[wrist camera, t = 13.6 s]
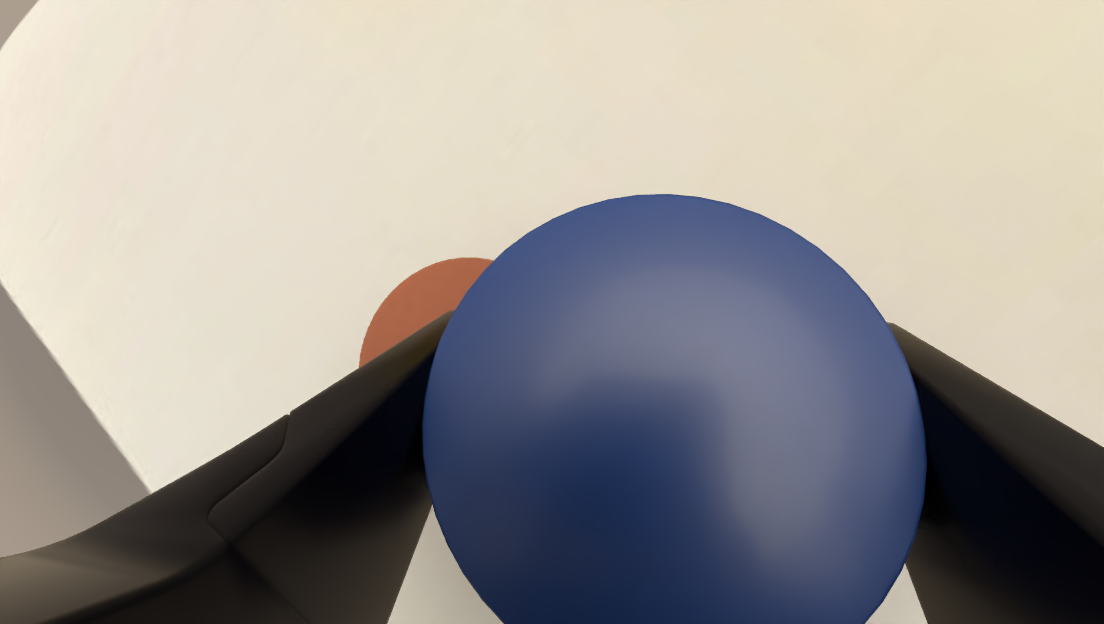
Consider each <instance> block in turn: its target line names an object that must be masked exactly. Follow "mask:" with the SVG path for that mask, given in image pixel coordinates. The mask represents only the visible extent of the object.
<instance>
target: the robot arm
mask: <svg viewBox="0 0 1104 624" xmlns="http://www.w3.org/2000/svg"><path fill="white" fill-rule="evenodd" d="M454 311H455V310H450V311H448V312H446V313H444V314H443V315H441V316H440V317H438V318H437V319H435V320H433V321H432V322H430V323H429V324H427V325H426V326H424V327H423V328H421V329H419V330H418V331H416V332H415V333H413V334H412V335H410V336H408V337H407V338H405V339H404V340H402V341H401V342H399V343H397V344H396V345H394V346H393V347H391V348H390V349H388V350H386V351H385V352H383V353H382V354H380V355H379V356H377V357H376V358H374V359H372V360H371V361H369V362H368V363H366V364H365V365H363V366H361V367H360V368H358V369H357V370H355V371H354V372H352V373H350V374H349V375H347V376H346V377H344V378H343V379H341V380H339V381H338V382H336V383H335V384H333V385H332V386H330V387H328V388H327V389H325V390H324V391H322V392H321V393H319V394H317V395H316V396H314V397H313V398H311V399H310V400H308V401H306V402H305V403H303V404H302V405H300V406H299V407H297V408H296V409H294V410H292V411H291V412H290V415H284V416H283V417H281V418H280V419H278V420H277V421H275V422H274V423H272V424H270V425H269V426H267V427H266V428H264V429H262V430H261V431H259V432H258V433H256V434H254V435H253V436H251V437H249V438H248V439H246V440H245V441H243V442H241V443H240V444H238V445H236V446H235V447H233V448H232V449H230V450H228V451H226V452H225V453H223V454H221V455H219V456H218V457H216V458H214V459H212V460H211V461H209V462H207V463H205V464H204V465H202V466H200V467H199V468H197V469H195V470H193V471H191V472H190V473H188V474H186V475H184V476H183V477H181V478H179V479H177V480H175V481H174V482H172V483H170V484H168V485H166V486H165V487H163V488H161V489H159V490H158V491H156V492H154V493H152V494H150V495H149V496H147V497H145V498H143V499H142V500H140V501H138V502H136V503H135V504H133V505H131V506H129V507H127V508H125V509H124V510H122V511H120V512H118V513H117V514H115V515H113V516H111V517H109V518H108V519H106V520H104V521H102V522H100V523H98V524H97V525H95V526H93V527H91V528H89V529H87V530H85V531H83V532H81V533H78V534H76V535H74V536H72V537H69V538H67V539H65V540H62V541H59V542H56V543H54V544H51V545H48V546H45V547H42V548H38V549H35V550H31V551H28V552H24V553H20V554H16V555H11V556H7V557H1V558H0V624H387V623H388V620H389V617H390V615H391V612H392V609H393V607H394V604H395V602H396V599H397V596H398V594H399V591H400V588H401V586H402V583H403V580H404V578H405V575H406V573H407V570H408V567H409V565H410V562H411V559H412V557H413V554H414V551H415V549H416V546H417V544H418V541H419V538H420V536H421V533H422V530H423V528H424V525H425V522H426V520H427V517H428V515H429V512H430V509H431V507H432V500H431V496H430V493H429V489H428V485H427V479H426V472H425V465H424V458H423V437H422V421H423V410H424V400H425V394H426V389H427V384H428V378H429V373H430V369H431V365H432V362H433V359H434V356H435V353H436V350H437V348H438V345H439V342H440V339H441V337H442V335H443V333H444V331H445V329H446V327H447V324H448V322H449V320H450V318H451V316H452V314H453V313H454ZM887 324H888V325H889V327H890V329H891V331H892V333H893V335H894V337H895V339H896V341H897V343H898V345H899V347H900V349H901V350H902V352H903V354H904V356H905V359H906V362H907V364H908V367H909V370H910V373H911V375H912V378H913V381H914V384H915V387H916V389H917V393H918V398H919V403H920V407H921V412H922V418H923V424H924V430H925V441H926V457H927V469H926V481H925V494H924V502H923V507H922V511H921V515H920V519H919V524H918V528H917V532H916V536H915V539H914V541H913V544H912V546H911V549H910V551H909V554H908V556H907V559H906V561H905V564H906V567H907V569H908V572H909V575H910V577H911V580H912V583H913V585H914V588H915V591H916V594H917V596H918V599H919V602H920V604H921V607H922V610H923V612H924V615H925V618H926V620H927V623H928V624H1104V447H1102V446H1100V445H1099V444H1097V443H1095V442H1094V441H1092V440H1090V439H1089V438H1087V437H1085V436H1083V435H1082V434H1080V433H1078V432H1077V431H1075V430H1073V429H1072V428H1070V427H1068V426H1067V425H1065V424H1063V423H1061V422H1060V421H1058V420H1056V419H1055V418H1053V417H1051V416H1050V415H1048V414H1046V413H1045V412H1043V411H1041V410H1039V409H1038V408H1036V407H1034V406H1033V405H1031V404H1029V403H1028V402H1026V401H1024V400H1023V399H1021V398H1019V397H1017V396H1016V395H1014V394H1012V393H1011V392H1009V391H1007V390H1006V389H1004V388H1002V387H1000V386H999V385H997V384H995V383H994V382H992V381H990V380H989V379H987V378H985V377H984V376H982V375H980V374H978V373H977V372H975V371H973V370H972V369H970V368H968V367H967V366H965V365H963V364H962V363H960V362H958V361H956V360H955V359H953V358H951V357H950V356H948V355H946V354H945V353H943V352H941V351H940V350H938V349H936V348H934V347H933V346H931V345H929V344H928V343H926V342H924V341H923V340H921V339H919V338H918V337H916V336H914V335H912V334H911V333H909V332H907V331H906V330H904V329H902V328H901V327H899V326H897V325H895V324H893V323H888V322H887Z"/></svg>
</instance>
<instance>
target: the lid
mask: <svg viewBox="0 0 1104 624" xmlns="http://www.w3.org/2000/svg"><path fill="white" fill-rule="evenodd" d="M422 437H423V458H424V465H425V472H426V479H427V485H428V489H429V493H430V496H431V500H432V504H433V508H434V511H435V515H436V518H437V520H438V523H439V525H440V527H441V530H442V532H443V535H444V537H445V540H446V542H447V545H448V547H449V548H450V550H451V552H452V554H453V556H454V558H455V559H456V561H457V563H458V565H459V567H460V569H461V570H462V572H463V574H464V575H465V577H466V578H467V579H468V581H469V582H470V584H471V585H472V586H473V588H474V589H475V591H476V592H477V593H478V595H479V596H480V598H481V599H482V600H483V601H484V602H485V604H486V605H487V606H488V607H489V608H490V609H491V610H492V611H493V612H494V613H495V615H496V616H497V617H498V618H499V619H500V620H501V621H502V622H503V623H504V624H865V623H866V621H867V620H868V619H869V618H870V617H871V615H872V614H873V613H874V612H875V611H876V609H877V608H878V607H879V606H880V605H881V604H882V602H883V601H884V599H885V597H886V596H887V594H888V592H889V591H890V589H891V587H892V586H893V584H894V582H895V581H896V579H897V577H898V576H899V574H900V572H901V571H902V568H903V566H904V563H905V561H906V559H907V556H908V554H909V551H910V549H911V546H912V544H913V541H914V539H915V536H916V532H917V528H918V524H919V519H920V515H921V511H922V507H923V502H924V494H925V481H926V469H927V457H926V441H925V430H924V424H923V418H922V412H921V407H920V403H919V398H918V393H917V389H916V387H915V384H914V381H913V378H912V375H911V373H910V370H909V367H908V364H907V362H906V359H905V356H904V354H903V352H902V350H901V349H900V347H899V345H898V343H897V341H896V339H895V337H894V335H893V333H892V331H891V329H890V327H889V325H888V324H887V322H886V321H885V320H884V318H883V317H882V315H881V314H880V312H879V311H878V310H877V308H876V307H875V305H874V304H873V302H872V301H871V300H870V298H869V297H868V295H867V294H866V293H865V292H864V291H863V290H862V289H861V288H860V287H859V285H858V284H857V283H856V282H855V281H854V280H853V279H852V278H851V277H850V276H849V274H848V273H847V272H846V271H845V270H844V269H843V268H842V267H840V266H839V265H838V264H837V263H836V262H835V261H833V260H832V259H831V258H830V257H829V256H827V255H826V254H825V253H824V252H823V251H822V250H820V249H819V248H818V247H817V246H815V245H814V244H812V243H810V242H809V241H807V240H806V239H804V238H803V237H801V236H800V235H798V234H797V233H795V232H794V231H792V230H791V229H789V228H787V227H785V226H783V225H781V224H779V223H777V222H775V221H773V220H771V219H769V218H767V217H765V216H763V215H761V214H758V213H755V212H752V211H749V210H746V209H743V208H741V207H738V206H735V205H732V204H729V203H724V202H720V201H715V200H710V199H706V198H701V197H694V196H683V195H672V194H656V195H635V196H628V197H621V198H615V199H608V200H605V201H601V202H598V203H594V204H590V205H587V206H583V207H580V208H577V209H575V210H573V211H570V212H568V213H565V214H563V215H561V216H558V217H556V218H553V219H552V220H550V221H548V222H546V223H545V224H543V225H541V226H539V227H538V228H536V229H534V230H532V231H530V232H529V233H527V234H526V235H525V236H523V237H522V238H521V239H519V240H518V241H517V242H515V243H514V244H513V245H511V246H510V247H508V248H507V249H506V250H505V251H504V252H503V253H502V254H501V255H499V256H498V257H497V258H496V259H495V260H494V261H493V262H492V263H491V264H490V265H489V266H488V267H487V268H486V269H485V270H484V271H483V272H482V274H481V275H480V276H479V277H478V279H477V280H476V281H475V282H474V283H473V285H472V286H471V287H470V288H469V289H468V291H467V292H466V294H465V295H464V297H463V298H462V300H461V302H460V303H459V305H458V306H457V308H456V309H455V311H454V313H453V314H452V316H451V318H450V320H449V322H448V324H447V327H446V329H445V331H444V333H443V335H442V337H441V339H440V342H439V345H438V348H437V350H436V353H435V356H434V359H433V362H432V365H431V369H430V373H429V378H428V384H427V389H426V394H425V400H424V410H423V421H422Z"/></svg>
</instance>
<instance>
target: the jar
mask: <svg viewBox="0 0 1104 624" xmlns="http://www.w3.org/2000/svg"><path fill="white" fill-rule="evenodd" d="M493 261H494V260H490V259H483V258H456V259H449V260H445V261H442V262H438V263H435V264H432V265H430V266H428V267H425V268H423V269H421V270H419V271H418V272H416V273H414V274H412V275H411V276H410V277H408V278H407V279H406V280H404V281H403V282H402V283H400V284H399V285H398V286H397V287H396V288H395V289H394V290H393V291H392V292H391V293H390V294H389V295H388V297H387V298H386V299H385V300H384V301H383V303H382V304H381V305H380V307H379V309H378V310H377V312H376V313H375V315H374V317H373V319H372V321H371V323H370V325H369V327H368V330H367V332H366V335H365V338H364V341H363V345H362V349H361V354H360V362H359V368H360V367H361V366H363V365H365V364H366V363H368V362H369V361H371V360H372V359H374V358H376V357H377V356H379V355H380V354H382V353H383V352H385V351H386V350H388V349H390V348H391V347H393V346H394V345H396V344H397V343H399V342H401V341H402V340H404V339H405V338H407V337H408V336H410V335H412V334H413V333H415V332H416V331H418V330H419V329H421V328H423V327H424V326H426V325H427V324H429V323H430V322H432V321H433V320H435V319H437V318H438V317H440V316H441V315H443V314H444V313H446V312H448V311H450V310H455V309H456V308H457V306H458V305H459V303H460V302H461V300H462V298H463V297H464V295H465V294H466V292H467V291H468V289H469V288H470V287H471V286H472V285H473V283H474V282H475V281H476V280H477V279H478V277H479V276H480V275H481V274H482V272H483V271H484V270H485V269H486V268H487V267H488V266H489V265H490V264H491V263H492V262H493Z"/></svg>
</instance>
